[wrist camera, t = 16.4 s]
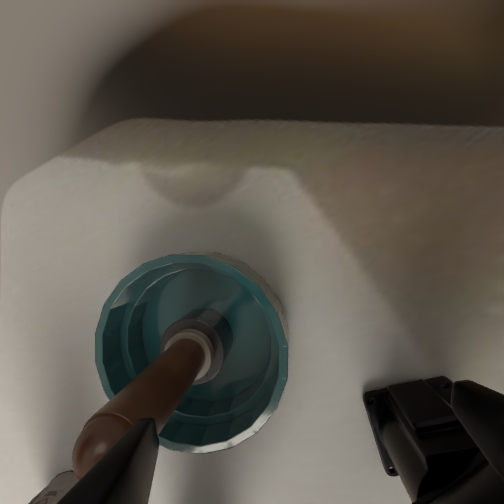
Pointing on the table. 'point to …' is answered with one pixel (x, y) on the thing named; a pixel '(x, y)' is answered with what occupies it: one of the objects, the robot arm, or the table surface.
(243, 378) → the bowl
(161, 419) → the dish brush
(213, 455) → the table surface
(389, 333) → the table surface
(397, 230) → the table surface
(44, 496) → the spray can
